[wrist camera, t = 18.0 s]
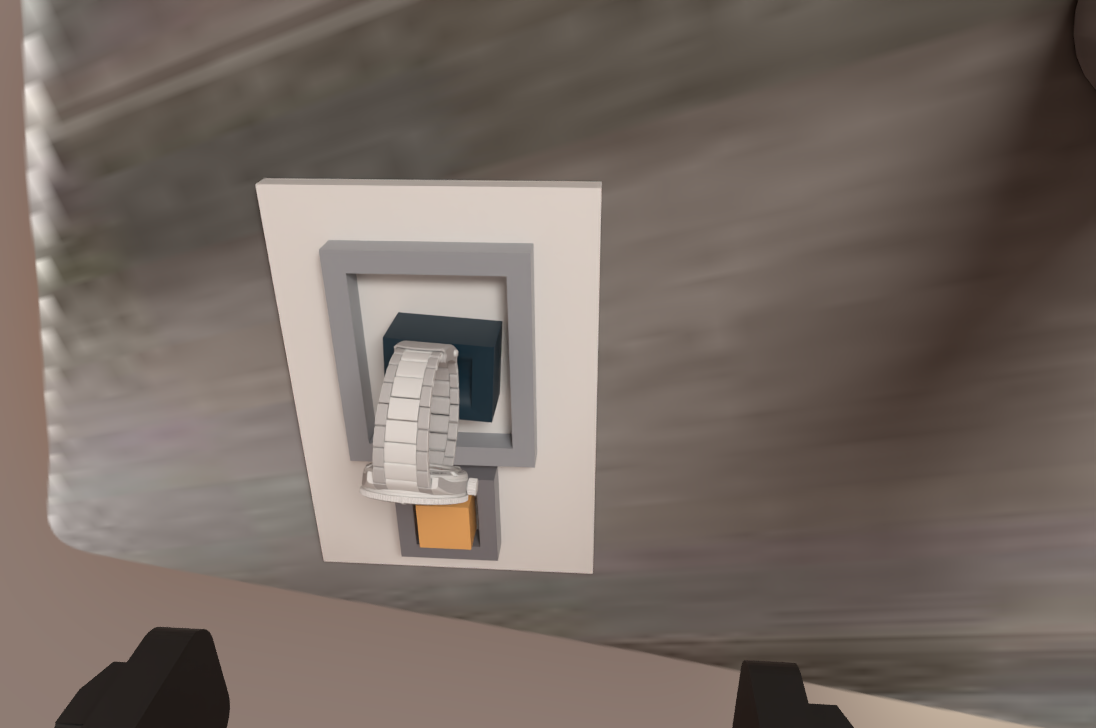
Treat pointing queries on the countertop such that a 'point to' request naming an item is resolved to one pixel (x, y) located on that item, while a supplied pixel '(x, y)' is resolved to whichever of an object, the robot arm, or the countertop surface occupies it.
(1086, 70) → the robot arm
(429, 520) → the button
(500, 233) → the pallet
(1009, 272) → the countertop surface
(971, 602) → the countertop surface
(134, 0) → the countertop surface
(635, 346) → the countertop surface
